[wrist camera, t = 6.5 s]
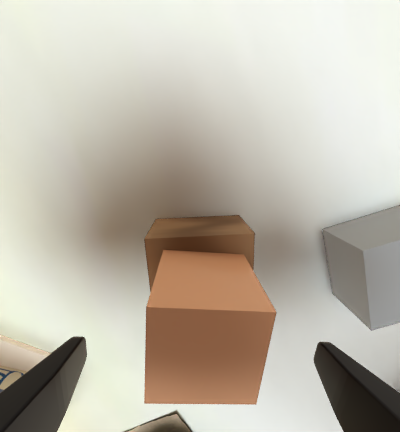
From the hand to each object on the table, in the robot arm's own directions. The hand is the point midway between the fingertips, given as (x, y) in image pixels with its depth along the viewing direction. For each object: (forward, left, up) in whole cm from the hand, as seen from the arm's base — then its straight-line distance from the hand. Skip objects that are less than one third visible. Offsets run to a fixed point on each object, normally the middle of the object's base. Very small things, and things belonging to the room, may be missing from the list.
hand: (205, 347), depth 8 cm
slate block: (-13, -1, -8) cm, 16 cm away
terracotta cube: (0, 0, -4) cm, 4 cm away
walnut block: (0, 0, -8) cm, 8 cm away
